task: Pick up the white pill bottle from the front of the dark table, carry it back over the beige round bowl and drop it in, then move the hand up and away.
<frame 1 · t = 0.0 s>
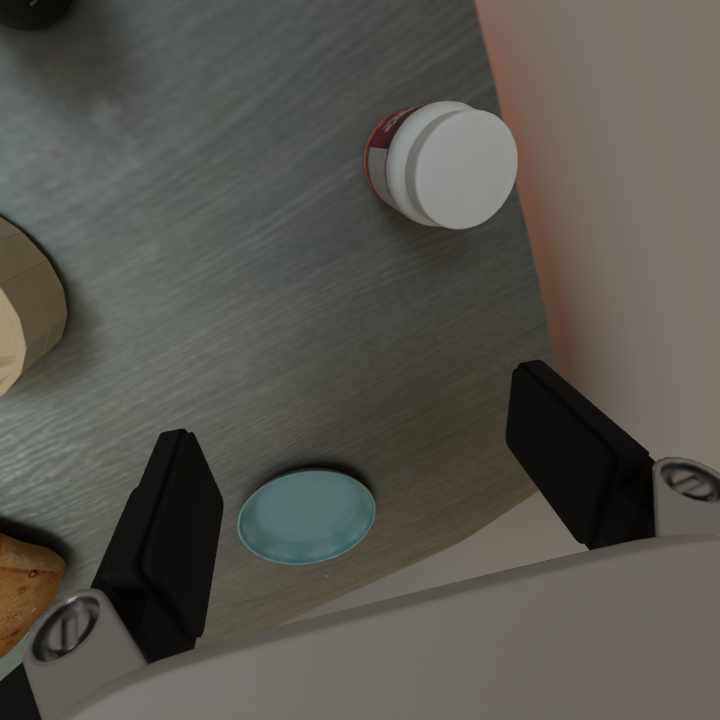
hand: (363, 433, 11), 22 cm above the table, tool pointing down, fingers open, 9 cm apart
saucer: (307, 501, 44), on the table
pill bottle: (403, 160, 28), on the table
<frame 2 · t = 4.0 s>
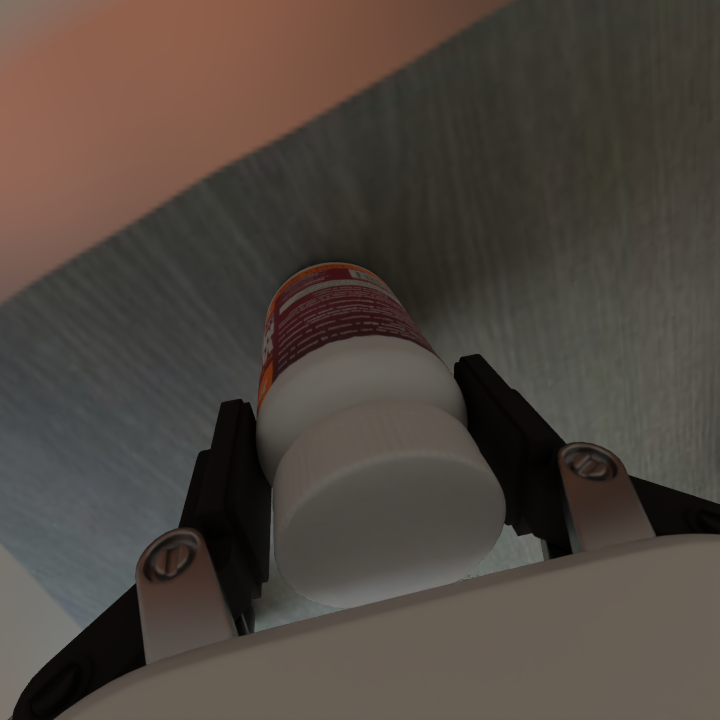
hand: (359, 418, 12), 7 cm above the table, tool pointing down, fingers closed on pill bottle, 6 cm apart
pill bottle: (333, 322, 18), on the table, touching gripper
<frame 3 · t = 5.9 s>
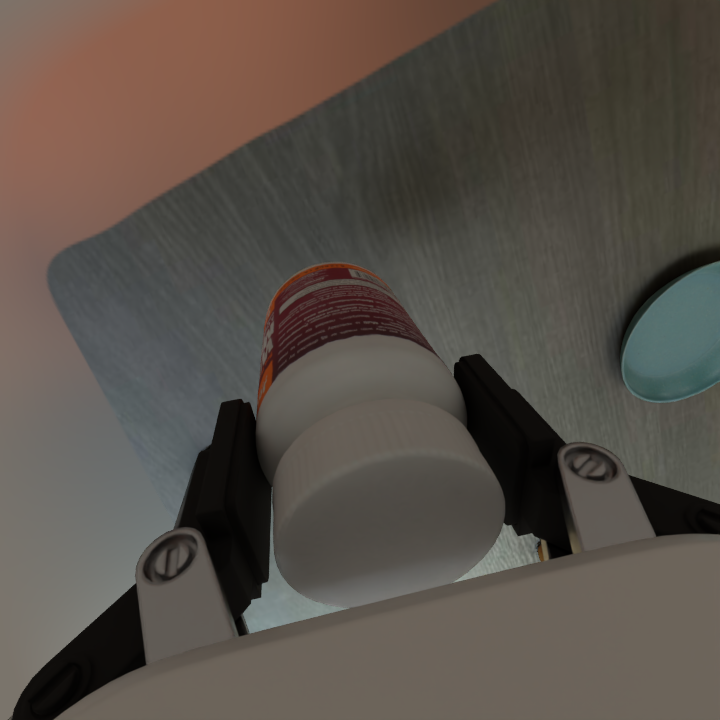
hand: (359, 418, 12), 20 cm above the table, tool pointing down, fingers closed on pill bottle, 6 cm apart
saucer: (673, 325, 38), on the table
pill bottle: (333, 322, 18), point 13 cm above the table, touching gripper
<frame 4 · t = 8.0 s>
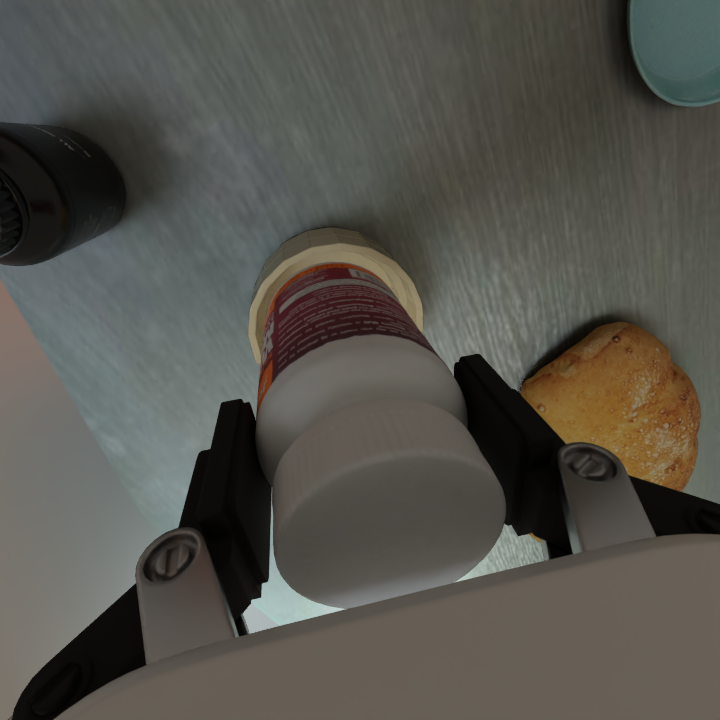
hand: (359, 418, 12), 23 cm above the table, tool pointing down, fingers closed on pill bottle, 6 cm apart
beige round bowl: (330, 303, 34), on the table
pill bottle: (333, 322, 18), point 15 cm above the table, touching gripper
supplement bottle: (74, 183, 26), on the table
bread: (585, 429, 48), on the table
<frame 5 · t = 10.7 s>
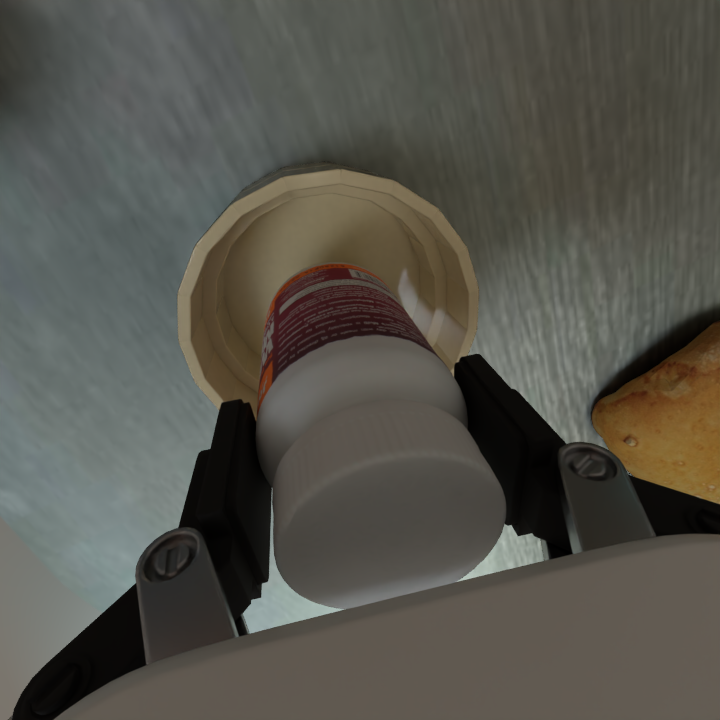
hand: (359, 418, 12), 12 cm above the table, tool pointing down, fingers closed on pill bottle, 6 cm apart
beige round bowl: (324, 289, 22), on the table
pill bottle: (333, 322, 18), point 5 cm above the table, touching gripper
bread: (666, 459, 36), on the table
when the fingers open (8 cm above the table, at t = 12.4 s): pill bottle stays where it is, resting on beige round bowl.
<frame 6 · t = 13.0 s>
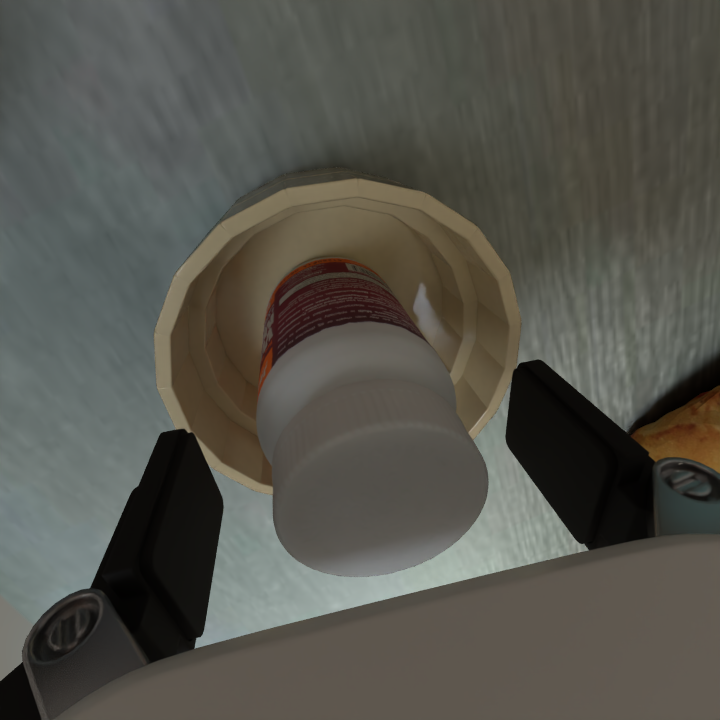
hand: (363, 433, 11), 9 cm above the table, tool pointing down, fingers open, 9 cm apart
beige round bowl: (332, 313, 19), on the table
pill bottle: (331, 315, 19), resting on beige round bowl
bread: (702, 489, 33), on the table
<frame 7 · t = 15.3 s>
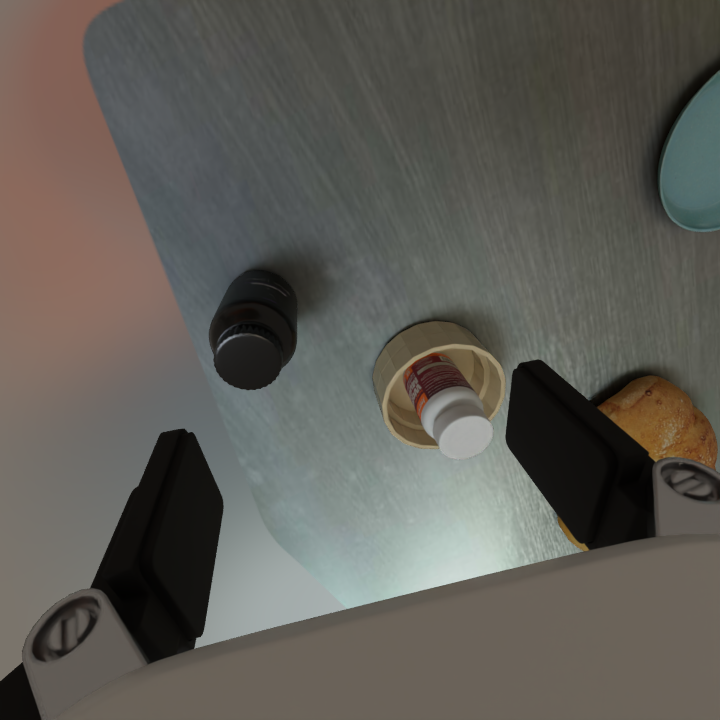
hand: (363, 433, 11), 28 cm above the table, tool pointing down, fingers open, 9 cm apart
saucer: (710, 146, 37), on the table
beige round bowl: (427, 370, 45), on the table
pill bottle: (427, 372, 44), resting on beige round bowl
supplement bottle: (261, 301, 38), on the table
bread: (619, 456, 58), on the table
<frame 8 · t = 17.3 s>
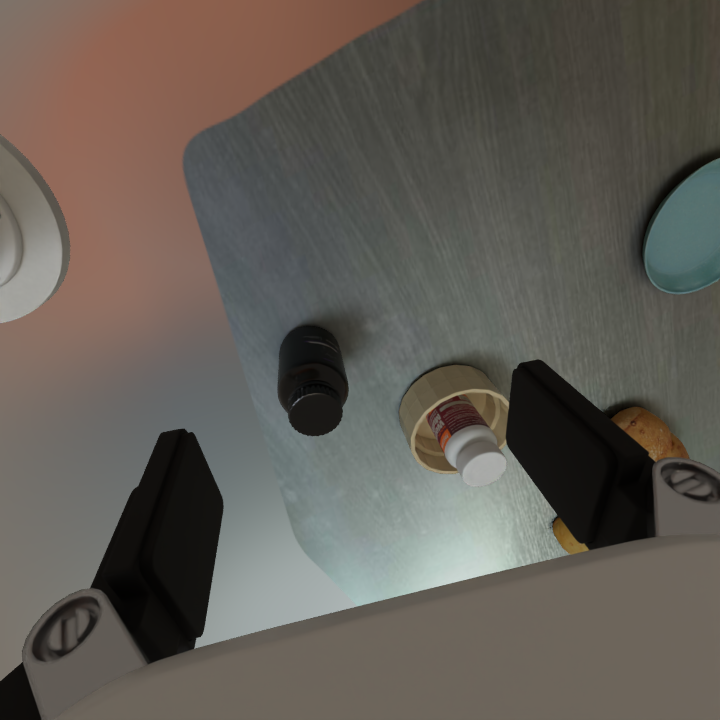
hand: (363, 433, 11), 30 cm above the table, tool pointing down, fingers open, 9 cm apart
saucer: (686, 225, 44), on the table
beige round bowl: (445, 404, 51), on the table
pill bottle: (445, 406, 51), resting on beige round bowl
supplement bottle: (309, 350, 44), on the table
bread: (607, 473, 65), on the table
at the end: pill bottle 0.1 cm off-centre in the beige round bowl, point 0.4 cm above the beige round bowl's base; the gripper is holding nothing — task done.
